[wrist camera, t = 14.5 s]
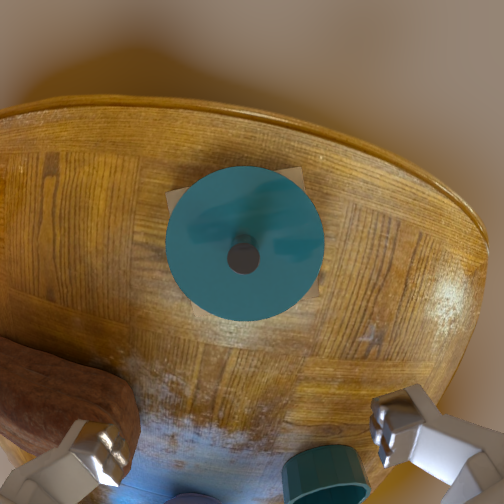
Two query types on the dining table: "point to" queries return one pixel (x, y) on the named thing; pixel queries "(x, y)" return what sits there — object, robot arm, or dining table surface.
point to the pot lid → (244, 243)
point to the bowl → (192, 499)
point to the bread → (59, 399)
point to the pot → (325, 477)
